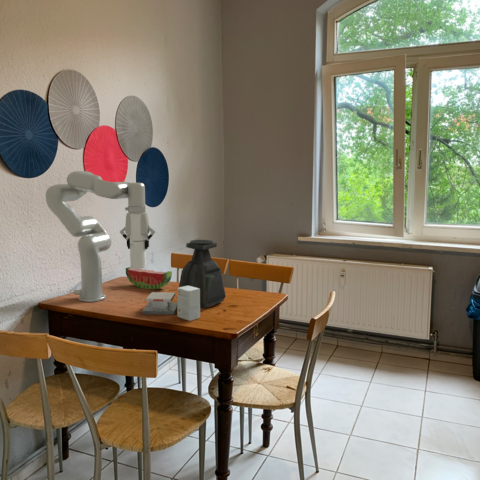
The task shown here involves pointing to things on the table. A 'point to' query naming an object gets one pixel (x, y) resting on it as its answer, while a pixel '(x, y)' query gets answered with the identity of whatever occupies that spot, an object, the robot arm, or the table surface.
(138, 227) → the cylindrical container
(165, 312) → the stand
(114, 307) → the table surface
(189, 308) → the small box
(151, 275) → the fruit slice
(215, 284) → the bottle
